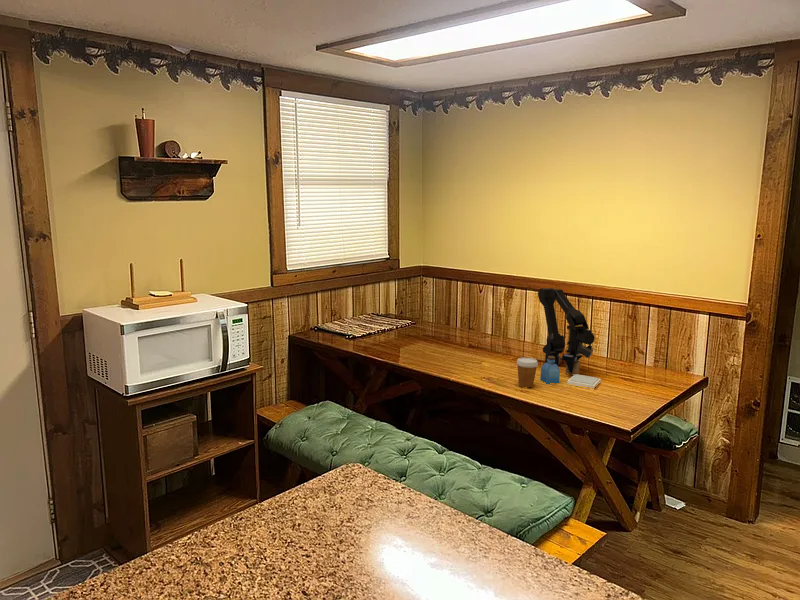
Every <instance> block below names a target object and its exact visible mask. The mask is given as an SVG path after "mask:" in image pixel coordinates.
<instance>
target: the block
mask: <svg viewBox="0 0 800 600" xmlns="http://www.w3.org/2000/svg"><path fill="white" fill-rule="evenodd" d="M580 364H581V362H580V361H576V362H575V363H574V367H573V371H572V373H570V372H569V369H568V367H567V364H566V363H565V374H566V373H568V374H574V375H576V374H578V373H579V374H580ZM568 374H567V375H568ZM579 374H578V375H579Z"/></svg>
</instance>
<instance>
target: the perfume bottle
mask: <svg viewBox="0 0 800 600" xmlns="http://www.w3.org/2000/svg"><path fill="white" fill-rule="evenodd" d="M547 362H548V363H545V362H544V363H543V364H542V366H541V367H540V379H539V380H541V382H542V381H543V382H542V383H544V382H545V383H546V384H545V383H544V384H545V385H547V384H548V385H551V384H550V383H559V384H560V376H561V370H560V368H559V365H558V366H557V365H556V364H554V362H555V357H554V356H548V359H547Z"/></svg>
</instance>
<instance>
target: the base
mask: <svg viewBox="0 0 800 600" xmlns="http://www.w3.org/2000/svg"><path fill="white" fill-rule="evenodd" d="M601 381H602V380H601V378H598V377H596V376H589V375H583V374H576V375H571V377H569V379H568V380H567V381H566V385H567V384H571V385H576V386H583V387H590V388H595V387H596V385H598V384H599V382H600V383H601ZM599 385H600V384H599ZM599 385H598V386H599ZM596 388H597V387H596ZM596 388H595V389H596Z"/></svg>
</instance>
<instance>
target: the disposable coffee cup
mask: <svg viewBox="0 0 800 600" xmlns="http://www.w3.org/2000/svg"><path fill="white" fill-rule="evenodd" d="M516 365H517V377H518V387H520V386H522V387H532V388H533V387H534V385H535V384H534V382H535V379H536V372H537V368H538V365H539V363H538V360H537V359H535V358H531V357H519V358H517V361H516ZM522 387H521V388H522Z"/></svg>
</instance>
